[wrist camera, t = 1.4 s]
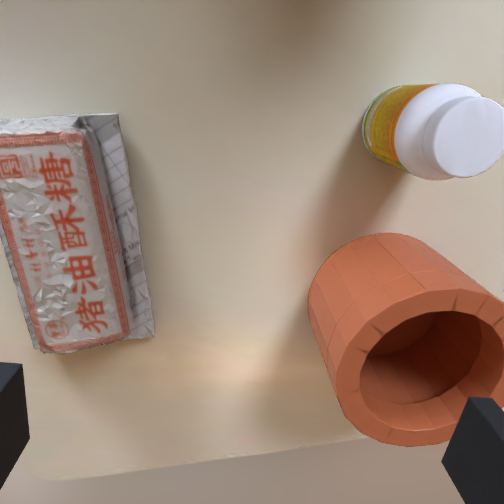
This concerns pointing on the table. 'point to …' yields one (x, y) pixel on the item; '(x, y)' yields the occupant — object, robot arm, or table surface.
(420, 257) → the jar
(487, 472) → the robot arm
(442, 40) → the table surface
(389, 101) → the supplement bottle
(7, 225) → the packaged product
